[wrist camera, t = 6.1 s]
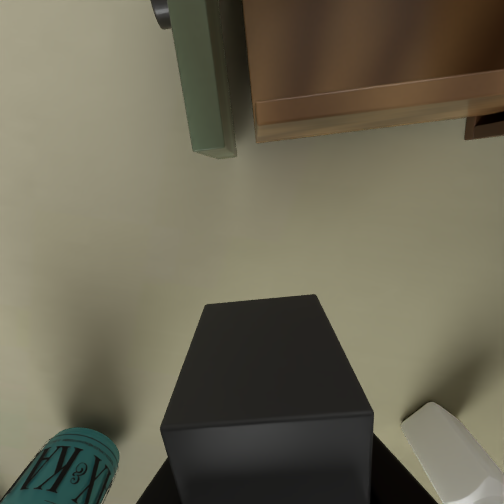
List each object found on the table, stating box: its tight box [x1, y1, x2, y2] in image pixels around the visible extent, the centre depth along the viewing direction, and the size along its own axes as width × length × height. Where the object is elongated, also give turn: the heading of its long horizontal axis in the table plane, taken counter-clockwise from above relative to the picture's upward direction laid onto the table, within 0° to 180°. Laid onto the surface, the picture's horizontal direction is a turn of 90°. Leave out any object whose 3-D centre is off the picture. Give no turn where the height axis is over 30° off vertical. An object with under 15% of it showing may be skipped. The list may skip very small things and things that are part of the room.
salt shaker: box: [401, 402, 504, 504], centre depth 18 cm, size 4×4×10 cm
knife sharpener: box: [160, 294, 374, 504], centre depth 6 cm, size 7×3×5 cm, turn 6°
